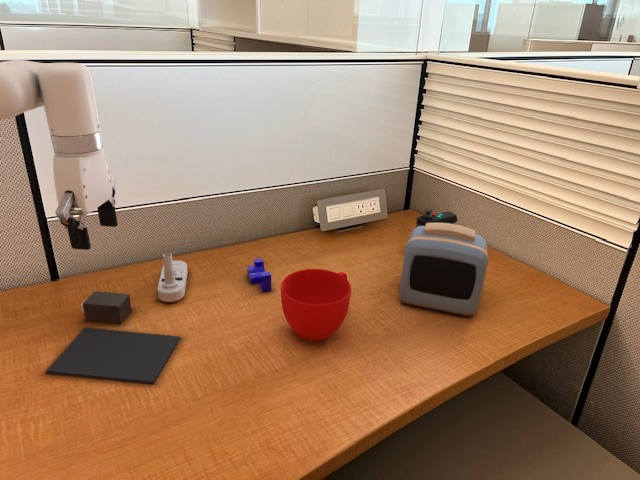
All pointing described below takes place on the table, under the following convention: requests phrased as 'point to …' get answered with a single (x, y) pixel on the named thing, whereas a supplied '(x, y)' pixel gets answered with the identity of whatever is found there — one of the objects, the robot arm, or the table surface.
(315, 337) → the ceramic cup
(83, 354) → the desk mat
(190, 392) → the table surface
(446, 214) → the controller
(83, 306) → the block
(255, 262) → the cable holder
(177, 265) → the electronic device
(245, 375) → the table surface
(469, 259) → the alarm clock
